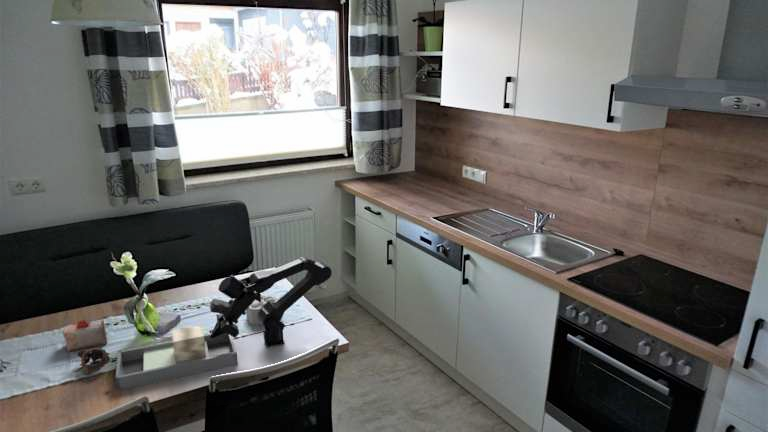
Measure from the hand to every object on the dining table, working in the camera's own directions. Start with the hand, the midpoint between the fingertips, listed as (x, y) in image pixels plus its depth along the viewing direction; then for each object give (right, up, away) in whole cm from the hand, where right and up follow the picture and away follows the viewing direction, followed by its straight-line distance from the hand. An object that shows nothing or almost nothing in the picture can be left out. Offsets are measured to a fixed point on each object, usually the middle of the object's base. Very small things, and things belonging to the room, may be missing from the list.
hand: (211, 337), depth 183 cm
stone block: (-27, -1, +23) cm, 36 cm away
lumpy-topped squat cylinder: (+12, +1, +30) cm, 32 cm away
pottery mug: (-39, -9, -4) cm, 40 cm away
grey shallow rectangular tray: (-11, -9, -2) cm, 14 cm away
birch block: (-7, -5, -1) cm, 9 cm away
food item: (-49, -5, +9) cm, 51 cm away
